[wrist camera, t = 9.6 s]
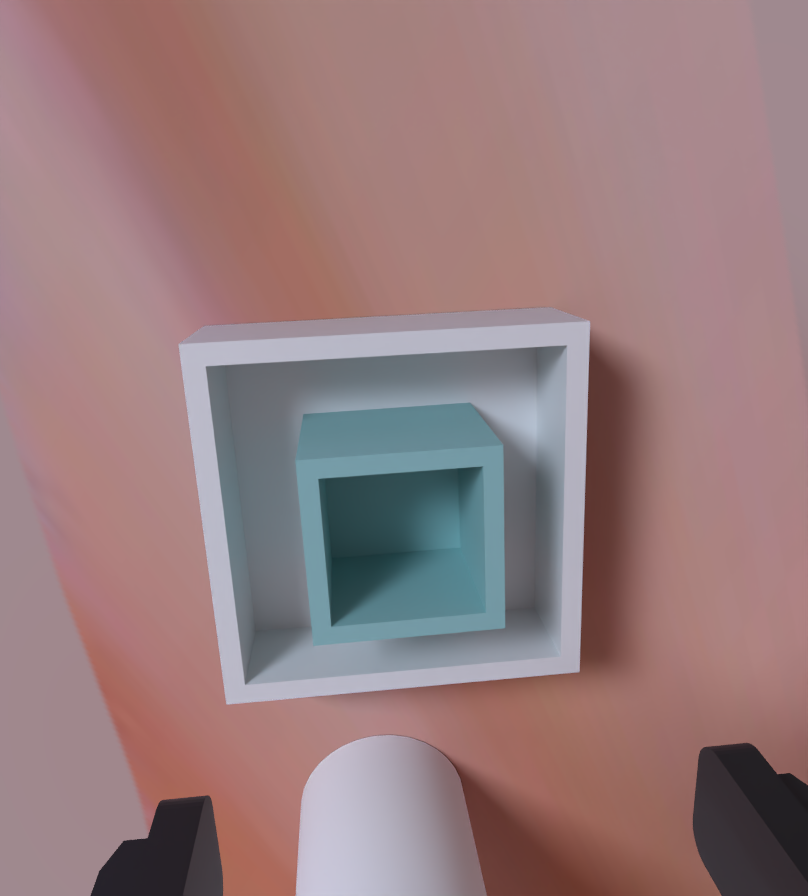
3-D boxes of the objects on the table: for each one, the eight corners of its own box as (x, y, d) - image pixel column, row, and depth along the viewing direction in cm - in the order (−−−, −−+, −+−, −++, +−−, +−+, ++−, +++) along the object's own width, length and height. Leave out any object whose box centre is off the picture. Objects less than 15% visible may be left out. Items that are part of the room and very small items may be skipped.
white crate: (203, 326, 26) (178, 344, 21) (550, 307, 26) (590, 321, 22) (241, 637, 29) (226, 704, 25) (546, 611, 30) (579, 672, 26)
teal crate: (303, 414, 26) (295, 460, 21) (470, 402, 26) (503, 445, 21) (317, 567, 28) (313, 646, 22) (473, 554, 28) (505, 628, 23)
